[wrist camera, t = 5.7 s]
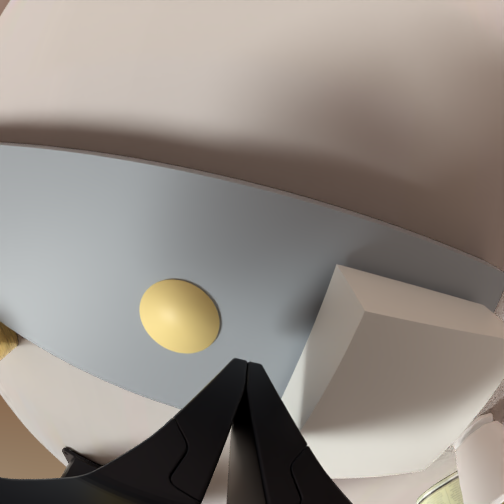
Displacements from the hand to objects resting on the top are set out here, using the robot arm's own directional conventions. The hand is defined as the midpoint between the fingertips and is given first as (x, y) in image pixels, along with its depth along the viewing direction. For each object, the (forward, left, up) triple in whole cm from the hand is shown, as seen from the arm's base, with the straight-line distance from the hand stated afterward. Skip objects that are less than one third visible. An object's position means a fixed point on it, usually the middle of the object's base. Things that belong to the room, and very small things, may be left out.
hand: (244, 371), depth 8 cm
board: (0, +6, -4) cm, 7 cm away
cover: (0, -5, -2) cm, 6 cm away
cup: (-9, -21, -4) cm, 24 cm away
